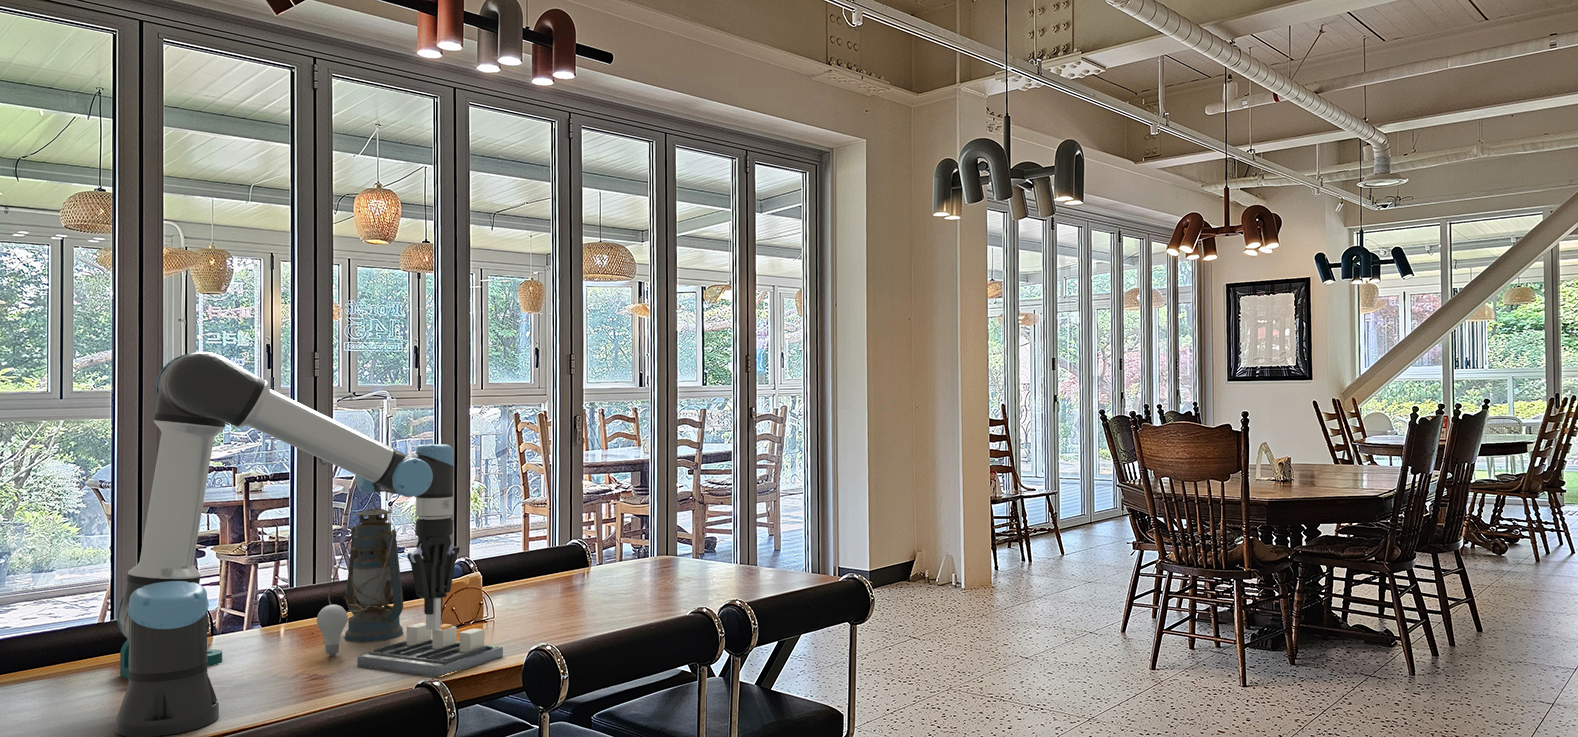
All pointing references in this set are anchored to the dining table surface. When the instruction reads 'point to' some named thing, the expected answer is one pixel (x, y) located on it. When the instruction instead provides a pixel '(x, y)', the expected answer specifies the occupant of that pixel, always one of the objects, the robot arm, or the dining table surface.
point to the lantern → (373, 580)
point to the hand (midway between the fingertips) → (433, 628)
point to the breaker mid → (444, 636)
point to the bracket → (212, 659)
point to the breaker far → (417, 634)
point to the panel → (427, 658)
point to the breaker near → (471, 639)
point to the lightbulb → (332, 626)
